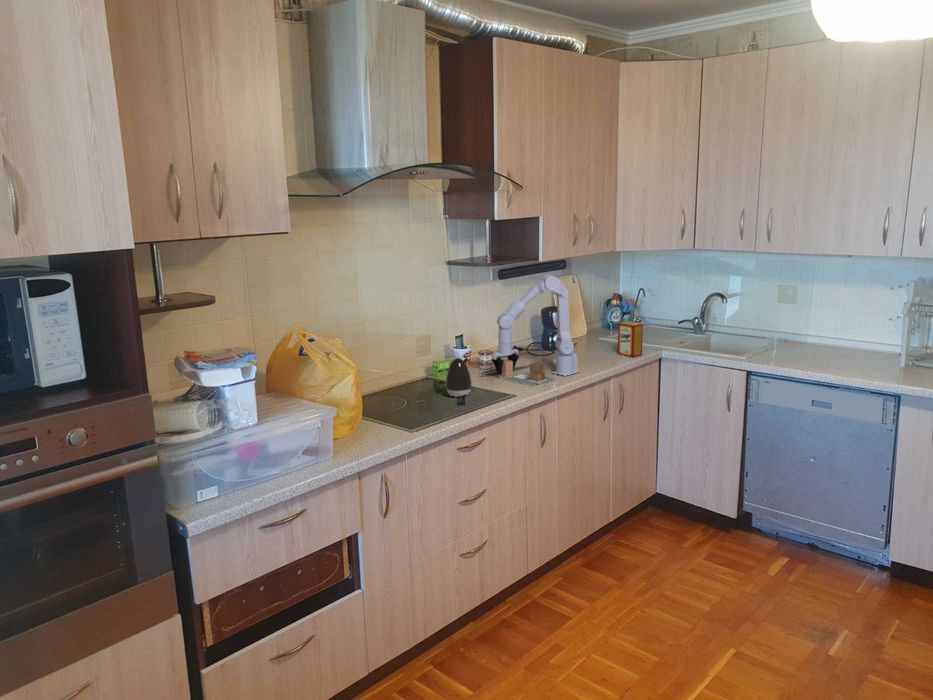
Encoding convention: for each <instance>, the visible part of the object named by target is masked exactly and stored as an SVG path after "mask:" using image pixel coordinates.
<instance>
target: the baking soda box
mask: <svg viewBox="0 0 933 700" xmlns="http://www.w3.org/2000/svg"><path fill="white" fill-rule="evenodd" d="M643 330H644V323H641V322H640V323H639V322H635V321H629V320H628V321H623V322H618V329H617V331H618V332H617V333H618V334H617V355H618V354H619V355H618V356H622V355H624V357H627V356H628V358H631V357H632V358H633V359H634V358H637V357H638V358H639V357H642V356H643V335H644V334H643V332H644V331H643Z"/></svg>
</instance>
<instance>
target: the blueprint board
mask: <svg viewBox="0 0 933 700" xmlns="http://www.w3.org/2000/svg"><path fill="white" fill-rule="evenodd" d="M505 379H509V380H513V381H518V382H522V383H526V384H530V385H535V384H539V383H543V382H546V381H549V380H553V379H555V380H556V378H554V377H551V376H550V377H549V376H546V375H545V380H543V381H539V382H536V381H532V380H530V372H523V373H519V374H516V375H513V376H512V377H508V378H504V380H505ZM553 381H554V380H553ZM549 382H550V381H549ZM546 383H547V382H546ZM543 384H544V383H543ZM539 385H540V384H539Z"/></svg>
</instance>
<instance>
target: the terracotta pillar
mask: <svg viewBox="0 0 933 700" xmlns="http://www.w3.org/2000/svg"><path fill="white" fill-rule="evenodd" d="M503 360H504V361H503V365H502V375H499V376H502V377H508V376H514V372H513V361H511V360H508V359H503Z"/></svg>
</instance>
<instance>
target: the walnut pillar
mask: <svg viewBox="0 0 933 700" xmlns="http://www.w3.org/2000/svg"><path fill="white" fill-rule="evenodd" d="M529 373H530V380H532V381H536V382H539V381H543V380H545V376H546V364H545V363H543V362H537V361H536V362H532V363H529Z"/></svg>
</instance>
